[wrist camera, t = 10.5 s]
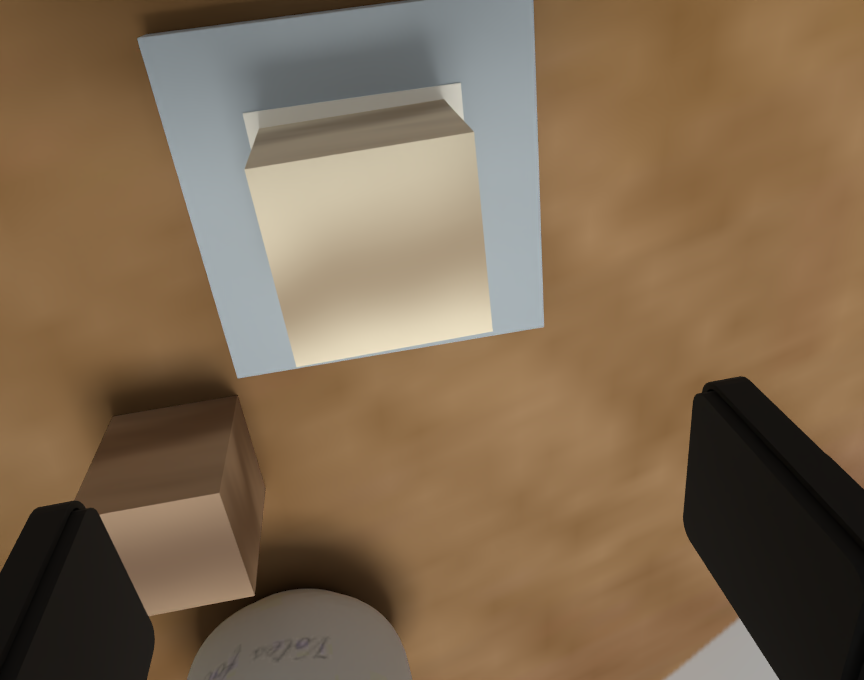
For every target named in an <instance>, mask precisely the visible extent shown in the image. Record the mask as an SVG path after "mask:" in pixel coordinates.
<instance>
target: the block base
mask: <svg viewBox="0 0 864 680" xmlns="http://www.w3.org/2000/svg"><path fill="white" fill-rule="evenodd" d="M244 170H245V174H246V178H247V182H248V185H249V189H250V193H251V197H252V201H253V204H254V208H255V212H256V216H257V220H258V223H259V227H260V231H261V235H262V239H263V242H264V246H265V250H266V254H267V257H268V261H269V265H270V269H271V273H272V276H273V280H274V284H275V288H276V292H277V295H278V299H279V303H280V307H281V311H282V314H283V318H284V322H285V326H286V329H287V333H288V337H289V341H290V345H291V348H292V352H293V356H294V360H295V364H296V367H301V366H306V365H312V364H317V363H323V362H328V361H334V360H339V359H345V358H350V357H356V356H361V355H367V354H372V353H378V352H383V351H388V350H394V349H399V348H405V347H410V346H416V345H421V344H427V343H432V342H438V341H443V340H449V339H454V338H460V337H465V336H471V335H476V334H481V333H487V332H492V331H493V328H492V317H491V307H490V296H489V285H488V275H487V264H486V253H485V243H484V232H483V222H482V211H481V200H480V190H479V179H478V168H477V158H476V147H475V136H474V131H473V130H472V129H471V128H470V127H469V126H468V125H467V124H466V123H465V122H464V120H463V119H462V118H461V117H460V116H459V115H458V114H457V113H456V112H455V111H454V110H453V109H452V107H451V106H450V105H449V104H448V103H447V102H446V101H445V100H444V99H441V100H435V101H428V102H422V103H416V104H410V105H403V106H397V107H391V108H385V109H378V110H372V111H366V112H360V113H353V114H347V115H341V116H335V117H328V118H322V119H316V120H310V121H303V122H297V123H291V124H285V125H278V126H272V127H266V128H260V129H259V130H258V133H257V135H256V138H255V141H254V144H253V147H252V149H251V152H250V155H249V158H248V161H247V163H246V166H245V169H244Z"/></svg>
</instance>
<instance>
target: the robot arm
mask: <svg viewBox="0 0 864 680" xmlns="http://www.w3.org/2000/svg"><path fill="white" fill-rule="evenodd" d="M683 522H684V527H685V531H686V534H687V536H688V538H689V540H690V542H691V543H692V545H693V546H694V548H695V550H696V551H697V553H698V554H699V556H700V557H701V559H702V560H703V562H704V563H705V565H706V567H707V568H708V570H709V571H710V573H711V574H712V576H713V577H714V579H715V580H716V582H717V584H718V585H719V587H720V588H721V590H722V591H723V593H724V594H725V596H726V598H727V599H728V601H729V602H730V604H731V605H732V607H733V608H734V610H735V611H736V613H737V615H738V616H739V618H740V619H741V621H742V622H743V624H744V625H745V627H746V628H747V630H748V632H749V633H750V634H751V636H752V638H753V639H754V641H755V642H756V644H757V646H758V647H759V649H760V650H761V652H762V653H763V655H764V656H765V658H766V659H767V661H768V662H769V664H770V666H771V667H772V669H773V670H774V672H775V673H776V675H777V676H778V678H779V680H864V489H863V488H862V487H861V486H860V485H859V484H858V483H857V482H855V481H854V480H853V479H852V478H851V477H850V476H849V475H848V474H847V473H846V472H845V471H844V470H843V469H842V468H841V467H840V466H839V465H838V464H837V463H836V462H835V461H834V460H833V459H832V458H831V457H829V456H828V455H827V454H825V453H824V452H823V451H822V450H821V449H820V448H819V447H818V446H817V445H816V444H815V443H814V442H813V441H812V440H811V439H810V438H809V437H808V436H807V435H806V434H805V433H804V432H803V431H802V430H801V429H799V428H798V427H797V426H796V425H795V424H794V423H793V422H792V421H791V420H790V419H789V418H788V417H787V416H786V415H785V414H784V413H783V412H782V411H781V410H780V409H779V408H778V407H777V406H776V405H775V404H774V403H773V402H772V401H770V400H769V399H768V398H767V397H766V396H765V395H764V394H763V393H762V392H761V391H760V390H759V389H758V388H757V387H756V386H755V385H754V384H753V383H752V382H751V381H750V380H748V379H747V378H746V377H741V376H740V377H735V378H729V379H724V380H718V381H713V382H708V383H706V384H705V386H704V387H703V390H702V393H699V394H696V395H695V397H694V400H693V408H692V420H691V431H690V443H689V455H688V466H687V478H686V489H685V501H684V512H683ZM154 641H155V638H154V630H153V626H152V623H151V621H150V619H149V617H148V614H147V612H146V610H145V608H144V606H143V604H142V602H141V600H140V598H139V596H138V594H137V592H136V590H135V588H134V585H133V583H132V581H131V579H130V577H129V575H128V573H127V571H126V569H125V567H124V565H123V563H122V561H121V559H120V557H119V554H118V552H117V550H116V548H115V546H114V544H113V542H112V540H111V538H110V536H109V534H108V532H107V530H106V528H105V525H104V523H103V521H102V519H101V517H100V515H99V513H98V512H97V510H96V509H94V508H85V506H84V505H83V504H82V503H81V502H80V501H70V502H65V503H59V504H54V505H49V506H43V507H38V508H36V509H35V510H33V512H32V513H31V514H30V516H29V518H28V520H27V522H26V524H25V526H24V528H23V530H22V532H21V534H20V536H19V538H18V539H17V541H16V543H15V545H14V547H13V549H12V551H11V553H10V555H9V557H8V559H7V561H6V563H5V565H4V567H3V569H2V570H1V572H0V680H147V676H148V672H149V668H150V663H151V659H152V655H153V650H154Z"/></svg>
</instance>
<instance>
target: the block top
mask: <svg viewBox="0 0 864 680" xmlns="http://www.w3.org/2000/svg"><path fill="white" fill-rule="evenodd" d="M265 489H266V488H265V485H264V481H263V478H262V475H261V471H260V468H259V465H258V461H257V458H256V455H255V451H254V448H253V445H252V441H251V438H250V435H249V432H248V428H247V425H246V422H245V418H244V415H243V412H242V408H241V405H240V402H239V398H238V395H236V396H230V397H224V398H218V399H212V400H207V401H201V402H195V403H189V404H183V405H177V406H171V407H165V408H160V409H154V410H148V411H142V412H136V413H130V414H124V415H118V416H113V417H112V419H111V421H110V423H109V425H108V428H107V430H106V432H105V434H104V436H103V439H102V441H101V443H100V445H99V447H98V450H97V452H96V454H95V456H94V458H93V461H92V463H91V465H90V467H89V469H88V472H87V474H86V476H85V478H84V480H83V482H82V485H81V487H80V489H79V491H78V493H77V496H76V498H75V500H74V501H80V502H81V503H82V504H83V505H84V506H85V508H94V509H96V510H97V512H98V513H99V515H100V517H101V519H102V521H103V523H104V525H105V528H106V530H107V532H108V534H109V536H110V538H111V540H112V542H113V544H114V546H115V548H116V550H117V552H118V554H119V557H120V559H121V561H122V563H123V565H124V567H125V569H126V571H127V573H128V575H129V577H130V579H131V581H132V583H133V585H134V588H135V590H136V592H137V594H138V596H139V598H140V600H141V602H142V604H143V606H144V608H145V610H146V612H147V614H148V616H152V615H157V614H162V613H168V612H173V611H178V610H183V609H188V608H194V607H199V606H204V605H209V604H215V603H220V602H225V601H230V600H236V599H241V598H246V597H251V596H255V588H256V578H257V568H258V559H259V549H260V539H261V529H262V519H263V509H264V499H265Z"/></svg>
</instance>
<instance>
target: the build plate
mask: <svg viewBox="0 0 864 680" xmlns="http://www.w3.org/2000/svg"><path fill="white" fill-rule="evenodd" d="M137 40H138V43H139V46H140V50H141V53H142V57H143V60H144V63H145V67H146V70H147V73H148V77H149V80H150V84H151V87H152V90H153V94H154V97H155V101H156V104H157V107H158V111H159V114H160V117H161V121H162V124H163V128H164V131H165V134H166V138H167V141H168V144H169V148H170V151H171V155H172V158H173V161H174V165H175V168H176V171H177V175H178V178H179V182H180V185H181V188H182V192H183V195H184V199H185V202H186V205H187V209H188V212H189V215H190V219H191V222H192V226H193V229H194V232H195V236H196V239H197V242H198V246H199V249H200V253H201V256H202V259H203V263H204V266H205V270H206V273H207V276H208V280H209V283H210V286H211V290H212V293H213V297H214V300H215V303H216V307H217V310H218V313H219V317H220V320H221V324H222V327H223V330H224V334H225V337H226V341H227V344H228V347H229V351H230V354H231V357H232V361H233V364H234V368H235V371H236V374H237V378H243V377H249V376H255V375H261V374H267V373H273V372H279V371H285V370H291V369H297V368H303V367H309V366H314V365H320V364H326V363H332V362H338V361H344V360H350V359H356V358H362V357H368V356H374V355H380V354H386V353H392V352H398V351H404V350H410V349H416V348H421V347H427V346H433V345H439V344H445V343H451V342H457V341H463V340H469V339H475V338H481V337H487V336H493V335H499V334H505V333H511V332H517V331H523V330H528V329H534V328H540V327H544V311H543V280H542V250H541V220H540V189H539V159H538V129H537V98H536V68H535V37H534V7H533V0H405V1H397V2H390V3H382V4H375V5H367V6H359V7H352V8H344V9H336V10H329V11H321V12H313V13H306V14H298V15H291V16H283V17H275V18H268V19H260V20H252V21H245V22H237V23H229V24H222V25H214V26H207V27H199V28H191V29H184V30H176V31H168V32H161V33H153V34H146V35H143V36H141V37H139V38H137ZM441 99H444V100H445V101H446V102H447V103H448V104H449V105H450V106H451V107H452V109H453V110H454V111H455V112H456V113H457V114H458V115H459V116H460V117H461V118H462V119H463V120H464V122H465V123H466V124H467V125H468V126H469V127H470V128H471V129H472V130H473V131H474V136H475V147H476V158H477V168H478V179H479V190H480V200H481V211H482V222H483V232H484V243H485V253H486V264H487V275H488V285H489V296H490V307H491V317H492V328H493V331H492V332H487V333H481V334H476V335H471V336H465V337H460V338H454V339H449V340H443V341H438V342H432V343H427V344H421V345H416V346H410V347H405V348H399V349H394V350H388V351H383V352H378V353H372V354H367V355H361V356H356V357H350V358H345V359H339V360H334V361H328V362H323V363H317V364H312V365H306V366H301V367H296V364H295V360H294V356H293V352H292V348H291V345H290V341H289V337H288V333H287V329H286V326H285V322H284V318H283V314H282V311H281V307H280V303H279V299H278V295H277V292H276V288H275V284H274V280H273V276H272V273H271V269H270V265H269V261H268V257H267V254H266V250H265V246H264V242H263V239H262V235H261V231H260V227H259V223H258V220H257V216H256V212H255V208H254V204H253V201H252V197H251V193H250V189H249V185H248V182H247V178H246V174H245V170H244V169H245V166H246V163H247V161H248V158H249V155H250V152H251V149H252V147H253V144H254V141H255V138H256V135H257V133H258V130H259V129H260V128H266V127H272V126H278V125H285V124H291V123H297V122H303V121H310V120H316V119H322V118H328V117H335V116H341V115H347V114H353V113H360V112H366V111H372V110H378V109H385V108H391V107H397V106H403V105H410V104H416V103H422V102H428V101H435V100H441Z"/></svg>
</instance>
